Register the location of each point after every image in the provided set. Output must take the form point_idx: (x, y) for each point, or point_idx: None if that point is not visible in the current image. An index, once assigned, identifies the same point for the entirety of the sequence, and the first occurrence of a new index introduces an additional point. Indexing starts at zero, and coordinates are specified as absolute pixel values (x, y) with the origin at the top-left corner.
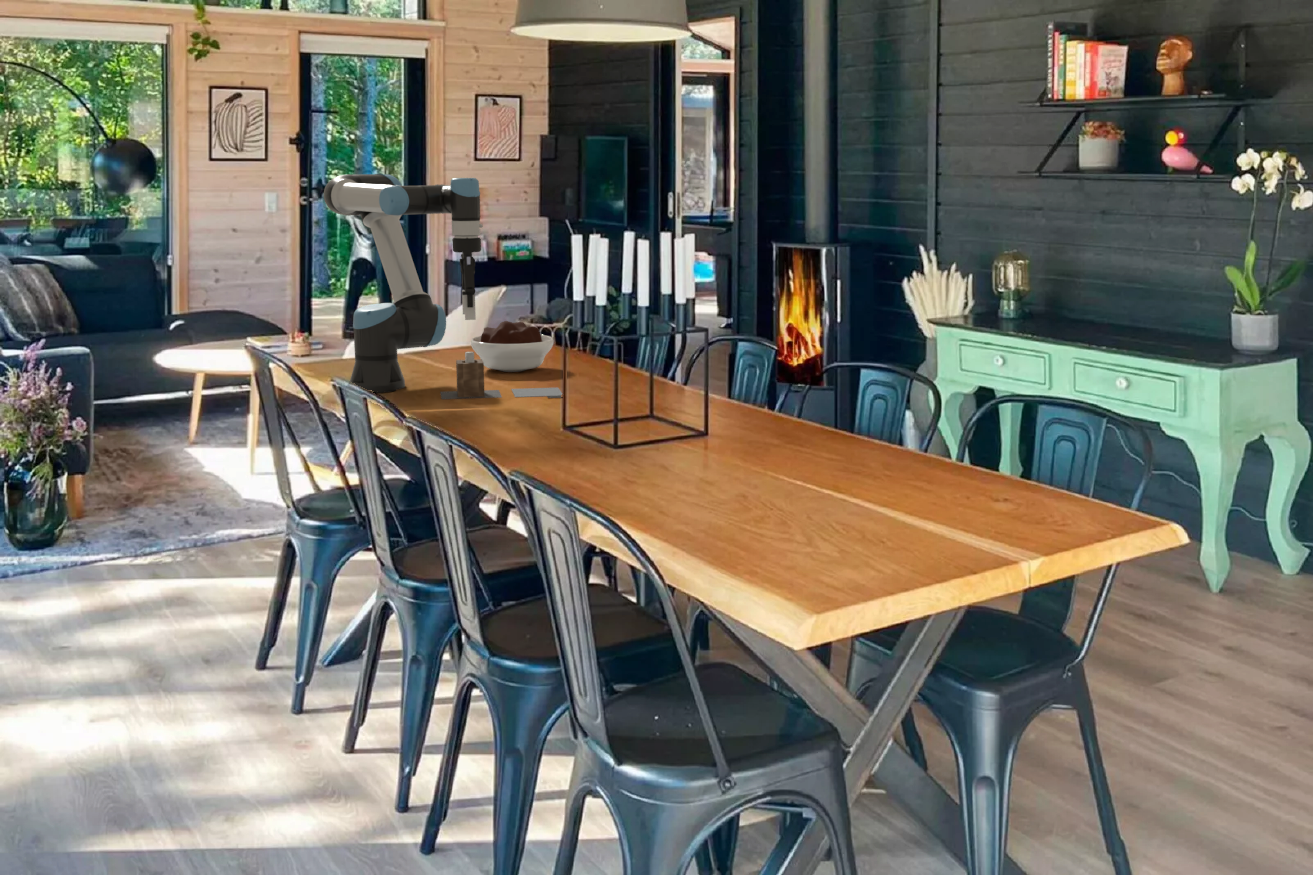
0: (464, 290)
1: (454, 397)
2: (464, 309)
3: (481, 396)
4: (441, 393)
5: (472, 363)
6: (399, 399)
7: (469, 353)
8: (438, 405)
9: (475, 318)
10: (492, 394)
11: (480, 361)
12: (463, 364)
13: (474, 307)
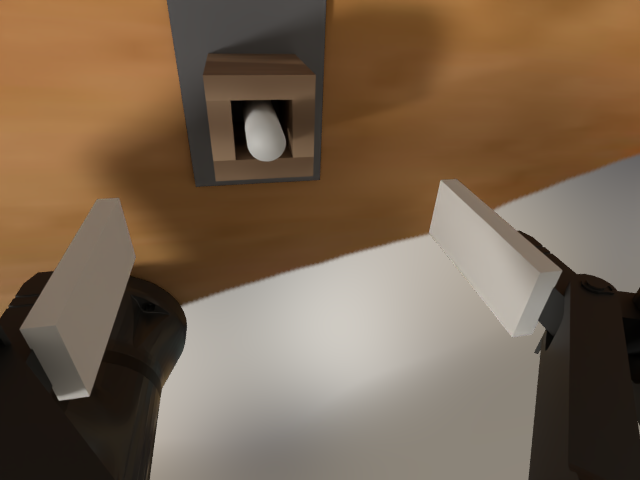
0: (83, 381)
1: None
2: (125, 267)
3: None
4: (228, 182)
5: (314, 121)
6: (275, 268)
7: (284, 143)
8: (376, 183)
9: (460, 182)
10: (265, 21)
11: (267, 86)
12: (313, 153)
13: (498, 220)
